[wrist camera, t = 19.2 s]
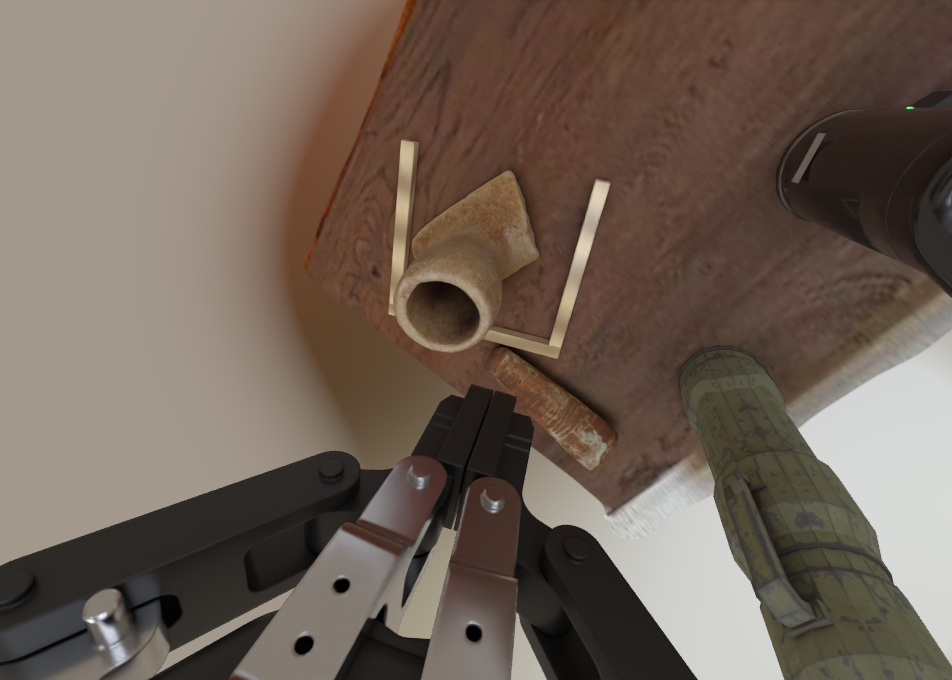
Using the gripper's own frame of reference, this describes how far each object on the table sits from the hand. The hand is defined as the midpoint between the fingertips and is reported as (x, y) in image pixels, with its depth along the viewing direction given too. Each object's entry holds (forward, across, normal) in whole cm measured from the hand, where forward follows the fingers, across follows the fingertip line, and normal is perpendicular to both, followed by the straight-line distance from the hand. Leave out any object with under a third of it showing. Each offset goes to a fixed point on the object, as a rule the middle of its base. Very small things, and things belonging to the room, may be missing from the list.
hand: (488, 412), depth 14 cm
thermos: (+37, -22, +15) cm, 46 cm away
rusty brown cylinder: (+37, -4, +23) cm, 44 cm away
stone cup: (+37, +8, +6) cm, 38 cm away
